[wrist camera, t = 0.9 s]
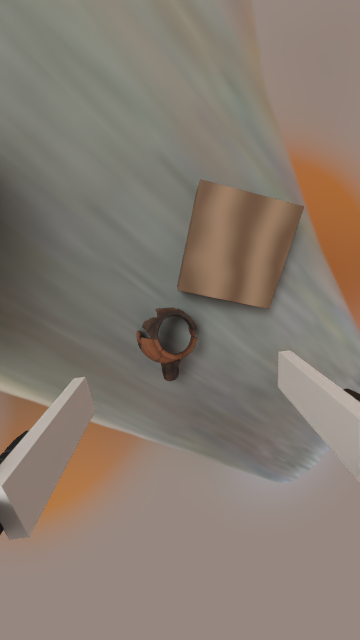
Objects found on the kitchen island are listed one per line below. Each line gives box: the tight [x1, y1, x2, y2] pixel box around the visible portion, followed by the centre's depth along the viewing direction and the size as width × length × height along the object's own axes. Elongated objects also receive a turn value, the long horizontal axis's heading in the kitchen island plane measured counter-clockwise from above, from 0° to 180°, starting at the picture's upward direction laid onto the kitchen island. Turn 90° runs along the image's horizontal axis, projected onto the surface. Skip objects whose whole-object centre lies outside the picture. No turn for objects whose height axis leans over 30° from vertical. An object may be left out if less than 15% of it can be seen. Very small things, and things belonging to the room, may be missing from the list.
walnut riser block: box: [177, 180, 304, 309], centre depth 29 cm, size 14×14×5 cm
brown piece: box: [137, 308, 197, 381], centre depth 32 cm, size 12×9×8 cm
